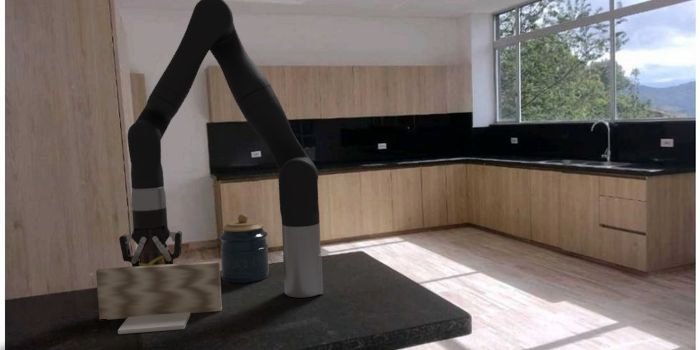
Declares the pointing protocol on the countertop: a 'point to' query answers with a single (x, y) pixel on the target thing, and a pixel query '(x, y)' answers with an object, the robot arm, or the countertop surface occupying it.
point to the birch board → (159, 289)
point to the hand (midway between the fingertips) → (153, 276)
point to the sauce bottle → (151, 252)
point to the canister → (244, 251)
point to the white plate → (154, 323)
